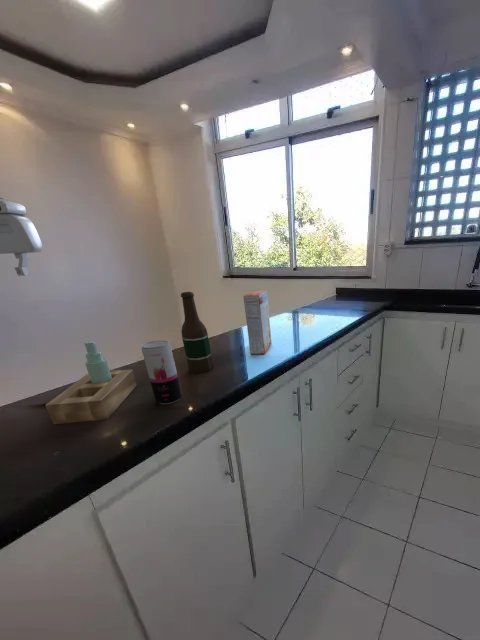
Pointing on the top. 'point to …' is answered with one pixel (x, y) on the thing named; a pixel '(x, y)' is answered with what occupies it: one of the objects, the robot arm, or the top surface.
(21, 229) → the robot arm
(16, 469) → the top surface
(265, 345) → the cracker box
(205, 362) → the beer bottle
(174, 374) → the beverage can
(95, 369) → the bottle
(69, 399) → the bottle stand
